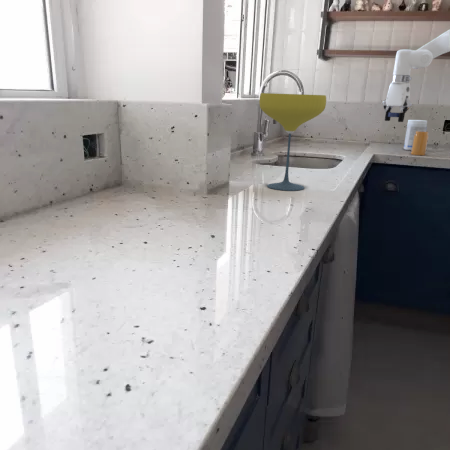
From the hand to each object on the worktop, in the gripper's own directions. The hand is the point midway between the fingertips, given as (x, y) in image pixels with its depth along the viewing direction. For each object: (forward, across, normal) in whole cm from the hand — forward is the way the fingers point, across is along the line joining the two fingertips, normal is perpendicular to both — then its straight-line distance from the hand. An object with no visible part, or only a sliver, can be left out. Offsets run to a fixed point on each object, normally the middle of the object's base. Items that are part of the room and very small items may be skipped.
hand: (393, 121), depth 228 cm
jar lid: (-3, 0, -1) cm, 3 cm away
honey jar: (+15, -8, -12) cm, 21 cm away
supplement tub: (+15, +6, -27) cm, 32 cm away
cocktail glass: (+15, -48, +108) cm, 119 cm away
